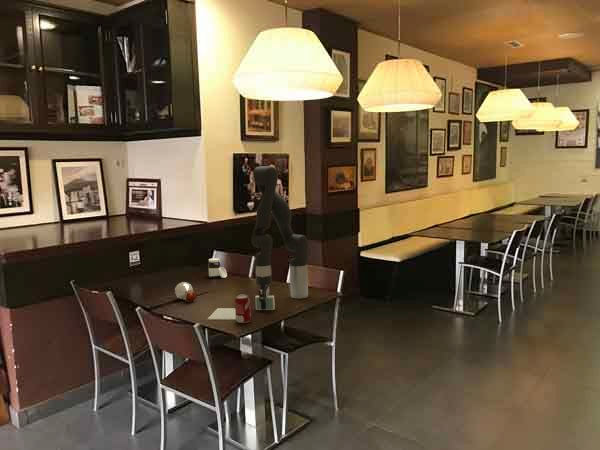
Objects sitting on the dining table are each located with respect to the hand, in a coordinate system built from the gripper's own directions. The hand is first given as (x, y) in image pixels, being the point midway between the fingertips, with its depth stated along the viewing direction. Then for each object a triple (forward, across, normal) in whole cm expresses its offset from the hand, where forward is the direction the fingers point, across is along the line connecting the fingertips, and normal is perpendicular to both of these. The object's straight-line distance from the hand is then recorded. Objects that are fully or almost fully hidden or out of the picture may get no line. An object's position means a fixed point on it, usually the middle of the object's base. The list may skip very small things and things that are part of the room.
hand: (265, 306), depth 241 cm
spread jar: (+1, -65, -44) cm, 79 cm away
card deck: (+1, 0, 0) cm, 1 cm away
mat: (+1, +9, -17) cm, 19 cm away
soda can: (+1, +19, -6) cm, 20 cm away
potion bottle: (+1, -15, -46) cm, 48 cm away
